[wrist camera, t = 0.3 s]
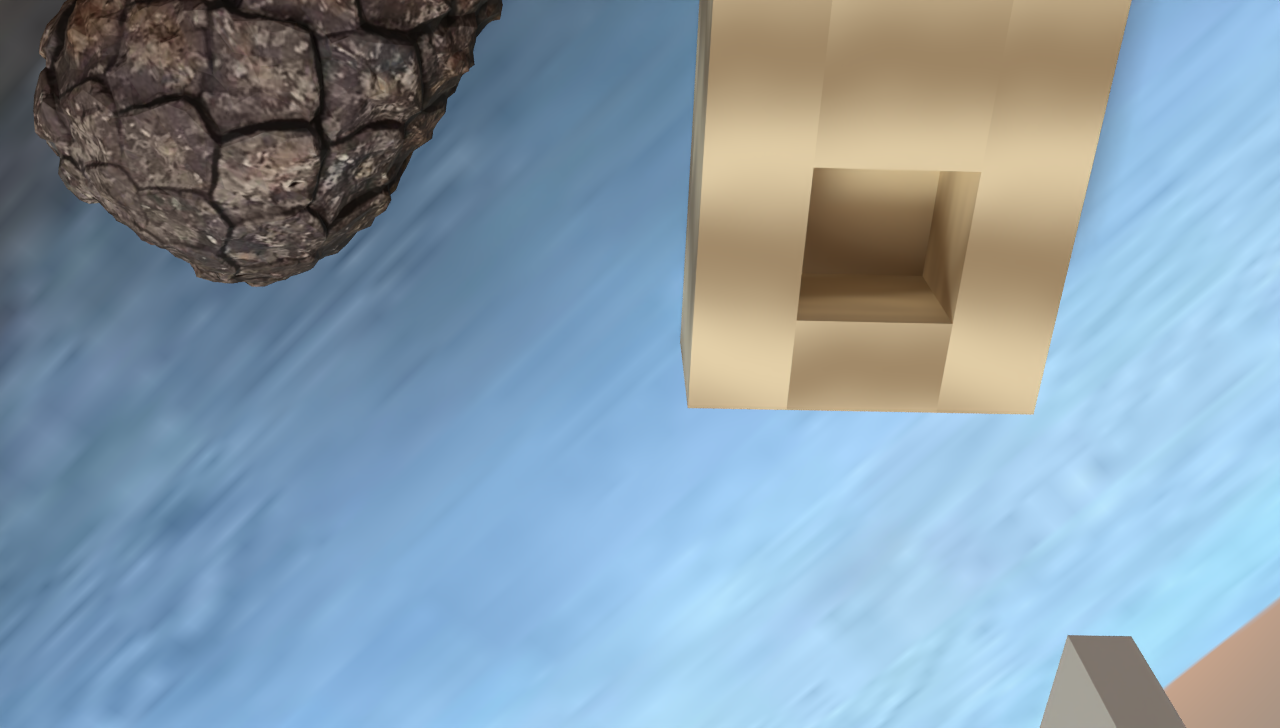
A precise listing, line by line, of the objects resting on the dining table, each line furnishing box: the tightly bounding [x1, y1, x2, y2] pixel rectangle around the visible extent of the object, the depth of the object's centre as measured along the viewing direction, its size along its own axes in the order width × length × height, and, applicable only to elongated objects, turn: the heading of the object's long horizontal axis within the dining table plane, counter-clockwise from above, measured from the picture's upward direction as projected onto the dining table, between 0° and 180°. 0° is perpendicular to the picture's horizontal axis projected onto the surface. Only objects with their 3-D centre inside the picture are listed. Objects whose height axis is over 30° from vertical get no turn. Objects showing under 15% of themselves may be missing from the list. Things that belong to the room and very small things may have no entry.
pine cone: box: [33, 0, 503, 286], centre depth 30 cm, size 10×18×10 cm, turn 144°
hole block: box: [680, 0, 1132, 414], centre depth 34 cm, size 24×12×5 cm, turn 178°
